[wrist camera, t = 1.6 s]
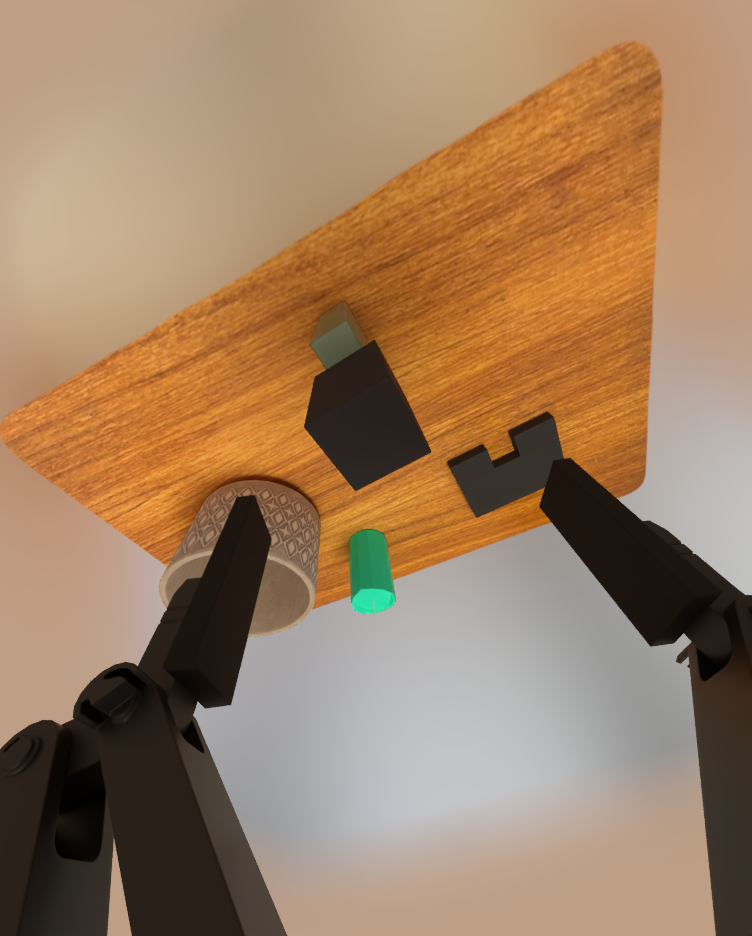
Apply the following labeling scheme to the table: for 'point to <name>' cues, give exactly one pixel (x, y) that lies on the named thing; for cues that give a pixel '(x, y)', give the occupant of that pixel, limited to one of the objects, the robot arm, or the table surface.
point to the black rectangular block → (364, 418)
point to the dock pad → (509, 466)
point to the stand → (337, 335)
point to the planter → (288, 559)
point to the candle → (370, 573)
